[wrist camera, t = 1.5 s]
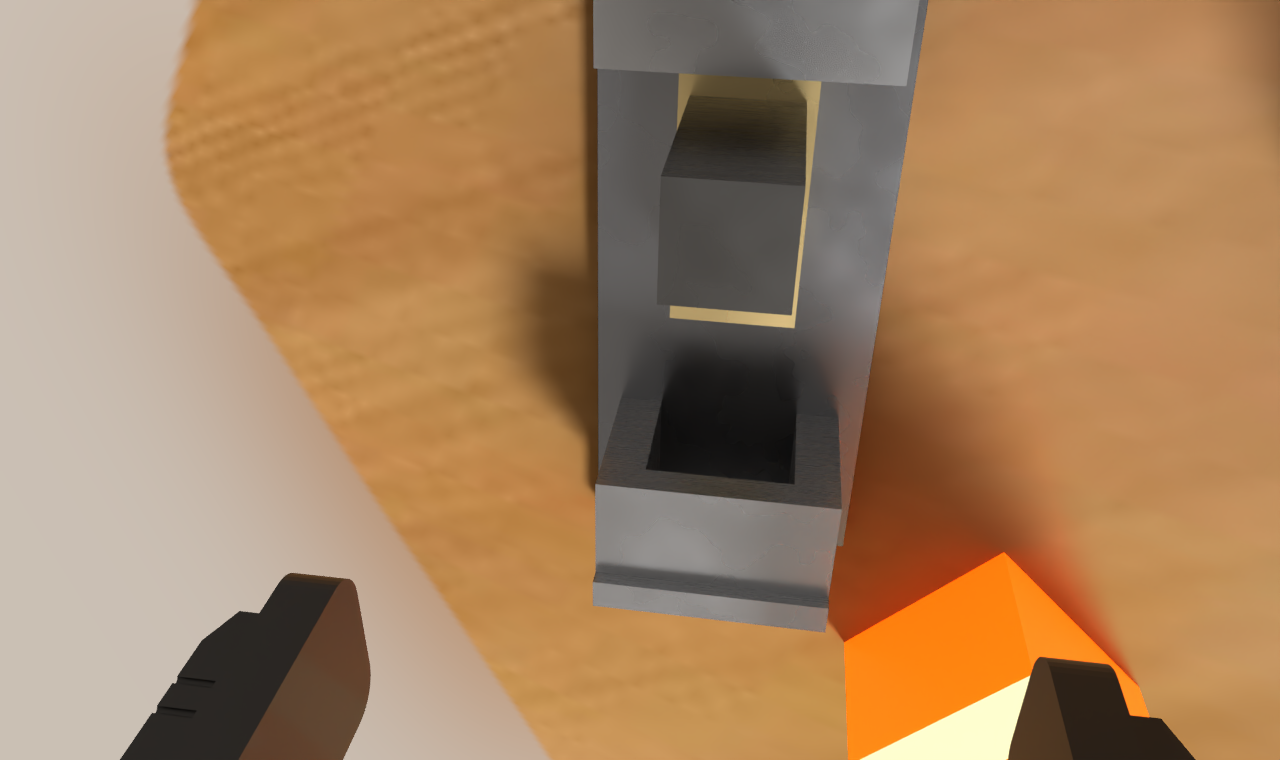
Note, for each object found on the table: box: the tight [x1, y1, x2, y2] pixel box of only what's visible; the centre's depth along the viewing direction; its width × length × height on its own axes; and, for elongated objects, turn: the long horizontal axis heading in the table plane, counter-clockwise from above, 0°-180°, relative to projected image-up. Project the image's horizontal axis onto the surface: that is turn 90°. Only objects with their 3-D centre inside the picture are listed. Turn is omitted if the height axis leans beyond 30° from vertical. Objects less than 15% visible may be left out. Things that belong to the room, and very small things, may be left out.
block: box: [657, 73, 821, 328], centre depth 25 cm, size 16×4×9 cm, turn 179°
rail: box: [593, 0, 928, 632], centre depth 30 cm, size 25×9×6 cm, turn 179°
